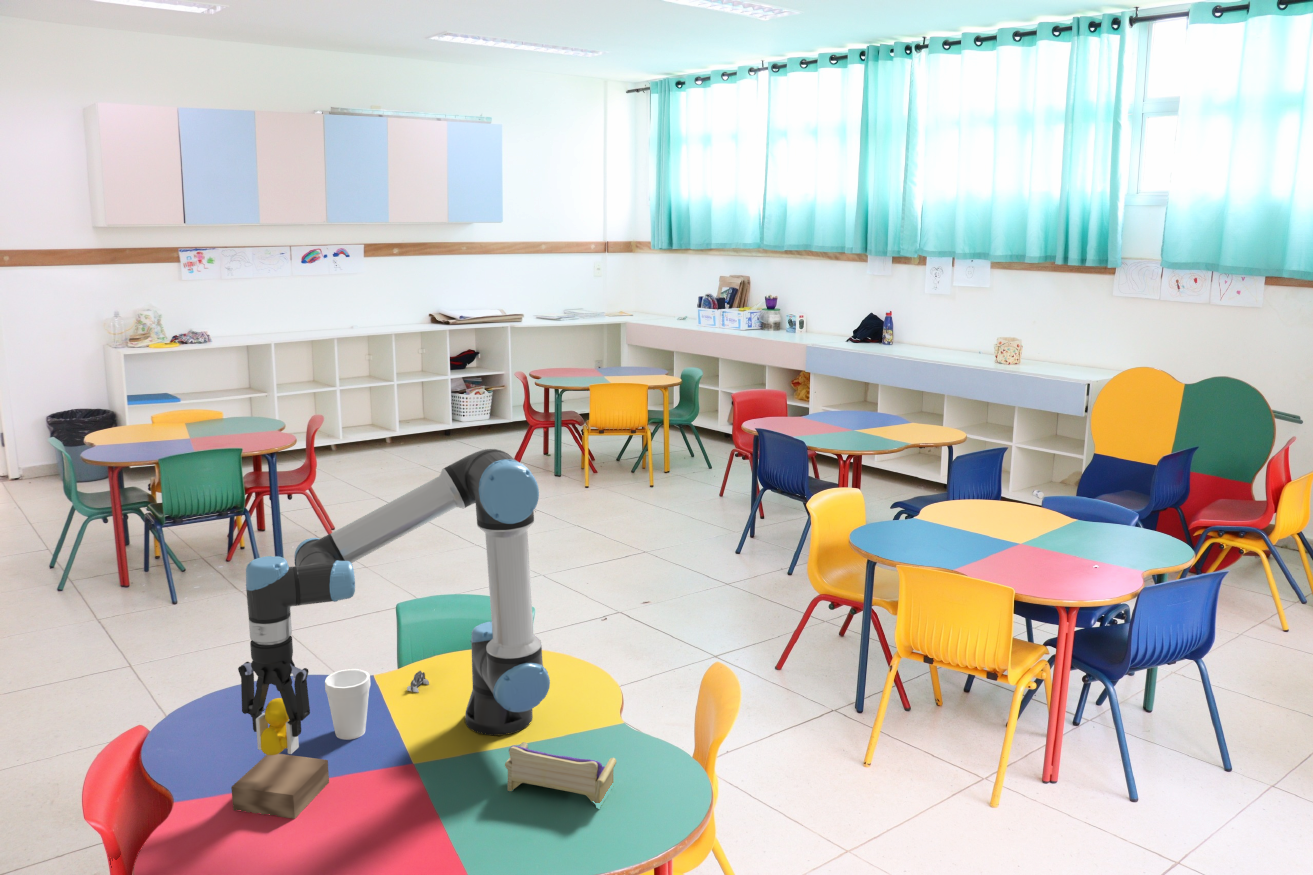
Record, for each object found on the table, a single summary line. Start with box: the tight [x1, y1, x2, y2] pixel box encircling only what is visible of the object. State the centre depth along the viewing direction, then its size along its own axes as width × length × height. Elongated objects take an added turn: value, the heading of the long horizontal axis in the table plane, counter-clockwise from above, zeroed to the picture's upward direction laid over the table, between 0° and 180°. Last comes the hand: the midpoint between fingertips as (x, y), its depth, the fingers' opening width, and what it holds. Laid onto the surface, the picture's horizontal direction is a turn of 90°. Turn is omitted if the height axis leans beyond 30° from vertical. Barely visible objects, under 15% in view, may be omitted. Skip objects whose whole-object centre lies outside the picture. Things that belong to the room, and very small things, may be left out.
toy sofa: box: [504, 741, 617, 803], centre depth 205 cm, size 21×9×10 cm, turn 74°
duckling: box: [260, 697, 289, 756], centre depth 199 cm, size 11×5×10 cm, turn 179°
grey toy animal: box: [406, 670, 430, 693], centre depth 252 cm, size 15×7×4 cm, turn 160°
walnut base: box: [231, 753, 330, 820], centre depth 202 cm, size 13×13×5 cm
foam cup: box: [324, 668, 371, 741], centre depth 225 cm, size 10×9×13 cm
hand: (278, 748), depth 200 cm, fingers closed on duckling, 6 cm apart
